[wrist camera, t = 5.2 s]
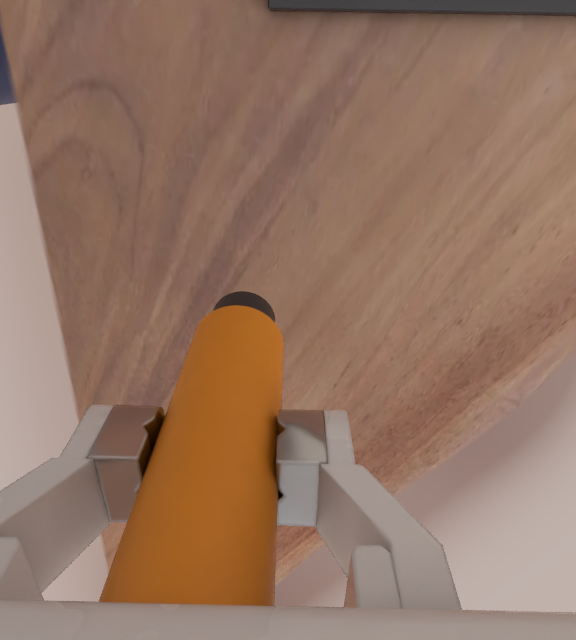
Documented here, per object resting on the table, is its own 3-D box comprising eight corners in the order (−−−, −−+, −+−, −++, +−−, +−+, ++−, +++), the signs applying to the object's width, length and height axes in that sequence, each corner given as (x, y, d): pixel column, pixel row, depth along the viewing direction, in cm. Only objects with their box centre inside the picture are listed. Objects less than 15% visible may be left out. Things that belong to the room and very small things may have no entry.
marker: (204, 353, 16) (-30, 1128, 4) (198, 279, 14) (-160, 1115, 3) (285, 354, 16) (262, 1133, 4) (286, 281, 14) (258, 1127, 3)
